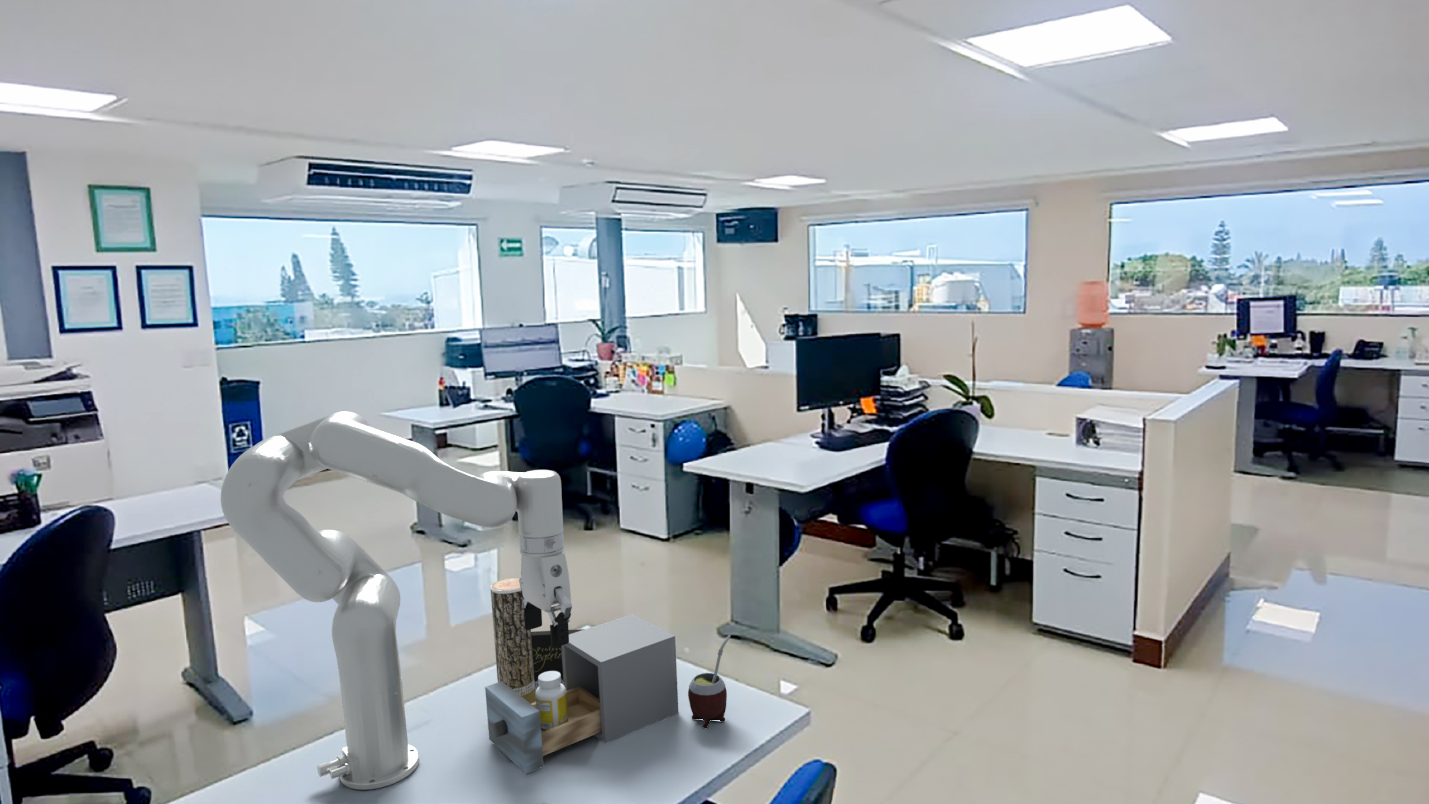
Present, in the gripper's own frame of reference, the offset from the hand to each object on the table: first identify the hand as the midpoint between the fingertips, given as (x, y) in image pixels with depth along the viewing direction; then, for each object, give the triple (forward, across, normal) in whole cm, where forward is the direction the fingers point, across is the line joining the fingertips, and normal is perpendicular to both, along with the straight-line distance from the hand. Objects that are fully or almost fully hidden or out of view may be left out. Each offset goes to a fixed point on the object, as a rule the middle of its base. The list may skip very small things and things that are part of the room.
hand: (546, 636), depth 150 cm
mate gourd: (+19, -13, -26) cm, 35 cm away
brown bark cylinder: (+20, +15, -1) cm, 25 cm away
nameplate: (+20, +20, -15) cm, 32 cm away
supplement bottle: (+17, 0, 0) cm, 17 cm away
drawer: (+19, 0, +1) cm, 19 cm away
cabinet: (+19, 0, -15) cm, 24 cm away
